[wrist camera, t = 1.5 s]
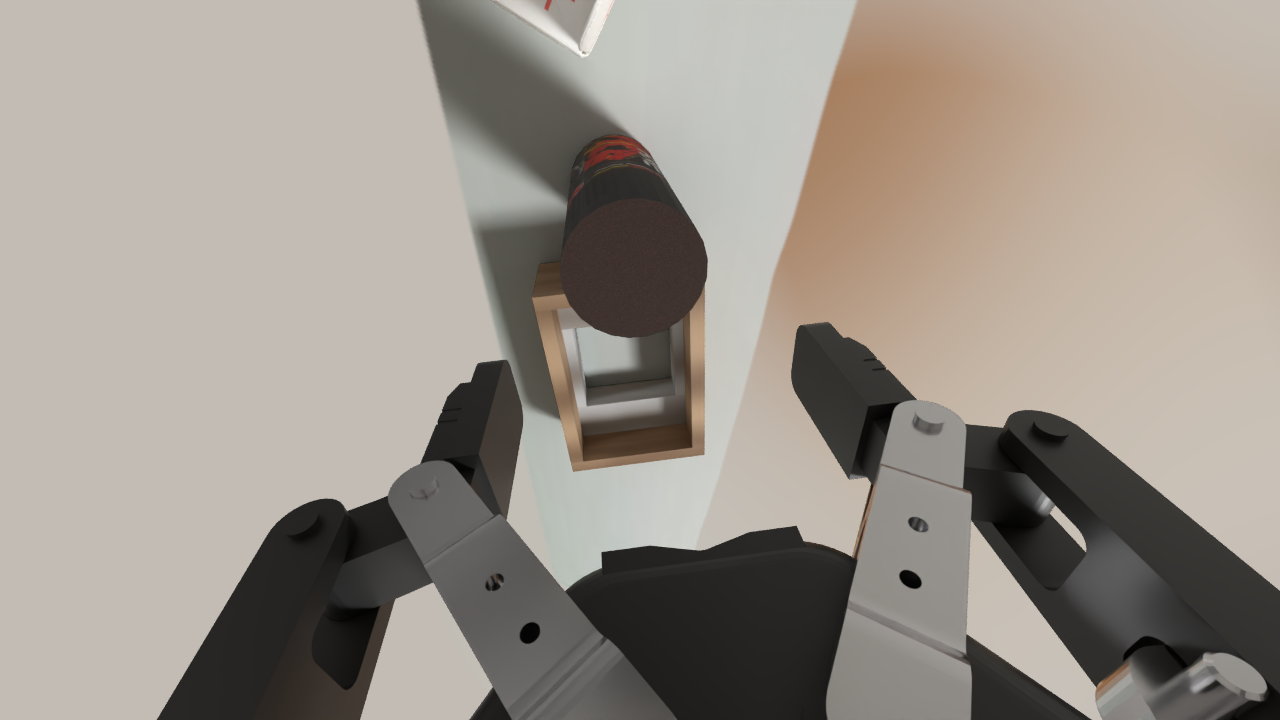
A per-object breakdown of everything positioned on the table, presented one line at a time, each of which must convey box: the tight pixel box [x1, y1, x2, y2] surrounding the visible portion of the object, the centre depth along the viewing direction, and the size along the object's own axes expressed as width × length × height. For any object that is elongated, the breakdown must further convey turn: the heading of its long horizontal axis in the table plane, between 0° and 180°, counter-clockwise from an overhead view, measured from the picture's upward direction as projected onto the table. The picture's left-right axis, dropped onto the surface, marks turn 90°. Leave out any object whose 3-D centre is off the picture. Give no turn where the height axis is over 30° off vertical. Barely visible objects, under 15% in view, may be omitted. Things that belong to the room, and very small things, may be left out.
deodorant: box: [560, 135, 708, 338], centre depth 24 cm, size 6×6×15 cm
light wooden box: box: [532, 262, 705, 472], centre depth 36 cm, size 16×11×6 cm
